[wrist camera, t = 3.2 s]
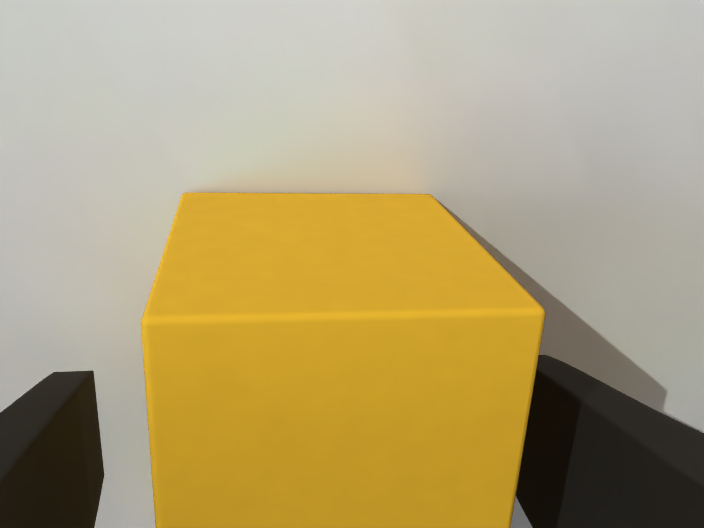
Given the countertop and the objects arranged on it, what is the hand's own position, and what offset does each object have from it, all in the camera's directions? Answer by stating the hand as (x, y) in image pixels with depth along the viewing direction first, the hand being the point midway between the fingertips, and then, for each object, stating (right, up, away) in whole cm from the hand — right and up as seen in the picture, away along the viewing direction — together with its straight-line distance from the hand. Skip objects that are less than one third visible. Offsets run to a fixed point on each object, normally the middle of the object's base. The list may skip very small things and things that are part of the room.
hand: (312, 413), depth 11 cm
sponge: (0, +1, +1) cm, 2 cm away
